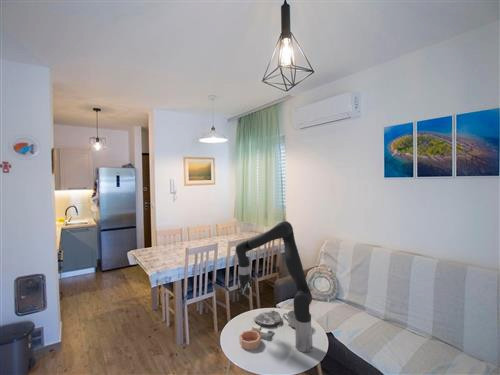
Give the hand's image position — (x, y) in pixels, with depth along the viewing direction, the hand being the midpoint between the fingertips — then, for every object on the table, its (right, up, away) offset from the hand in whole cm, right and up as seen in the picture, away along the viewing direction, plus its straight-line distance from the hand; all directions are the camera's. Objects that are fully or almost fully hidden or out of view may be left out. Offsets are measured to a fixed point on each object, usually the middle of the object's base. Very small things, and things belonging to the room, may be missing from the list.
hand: (245, 296), depth 173 cm
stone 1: (+8, -22, -2) cm, 23 cm away
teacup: (+33, -22, +6) cm, 40 cm away
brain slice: (+16, -22, +11) cm, 30 cm away
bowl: (+3, -23, -13) cm, 27 cm away
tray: (+10, -22, -4) cm, 25 cm away
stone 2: (+12, -22, -7) cm, 26 cm away
